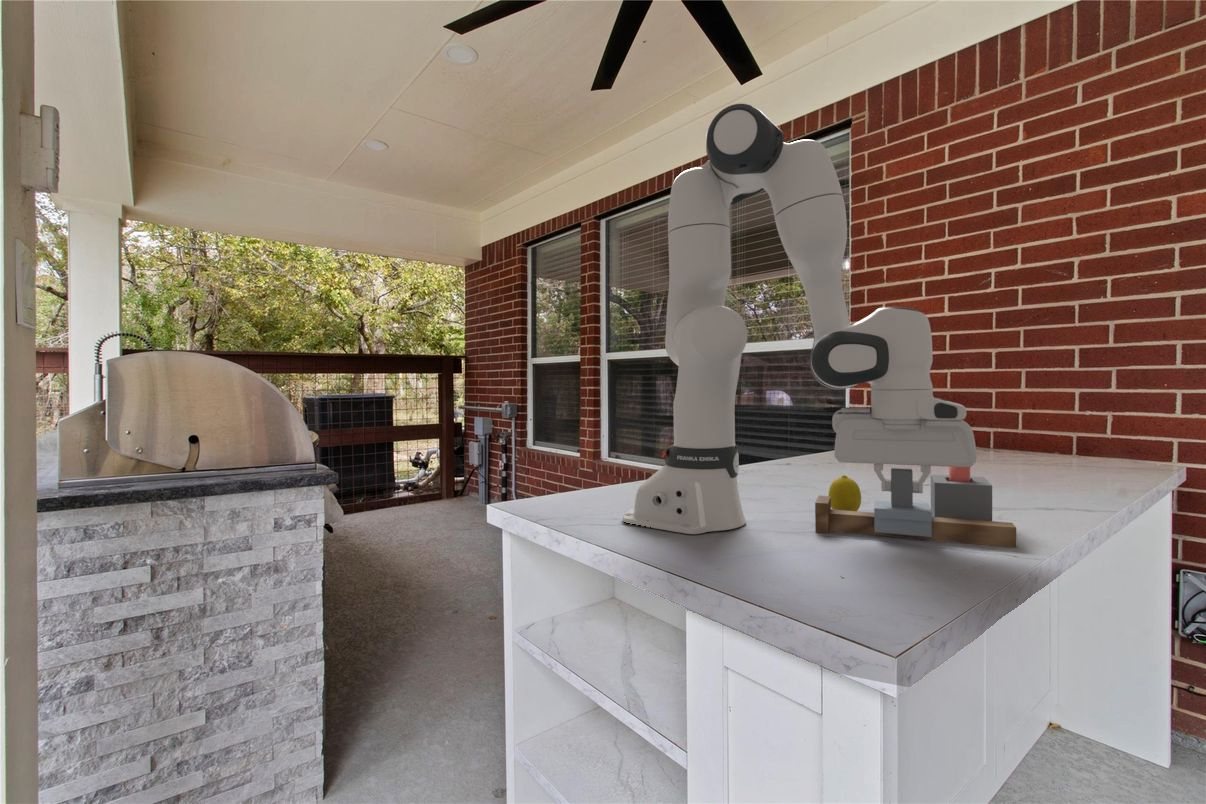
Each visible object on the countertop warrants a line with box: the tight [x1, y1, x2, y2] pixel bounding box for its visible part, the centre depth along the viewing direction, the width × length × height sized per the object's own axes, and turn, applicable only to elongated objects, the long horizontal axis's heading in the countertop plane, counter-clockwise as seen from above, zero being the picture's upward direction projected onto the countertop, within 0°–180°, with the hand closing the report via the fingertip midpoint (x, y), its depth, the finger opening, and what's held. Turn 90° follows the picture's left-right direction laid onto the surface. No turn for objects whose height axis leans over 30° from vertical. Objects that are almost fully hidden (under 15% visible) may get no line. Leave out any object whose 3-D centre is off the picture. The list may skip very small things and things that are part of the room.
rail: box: [814, 495, 1017, 548], centre depth 90 cm, size 28×6×5 cm, turn 63°
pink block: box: [948, 467, 971, 482], centre depth 95 cm, size 3×3×6 cm
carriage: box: [873, 467, 932, 537], centre depth 91 cm, size 8×6×10 cm
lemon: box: [828, 475, 862, 511], centre depth 102 cm, size 6×6×8 cm
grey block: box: [930, 474, 993, 521], centre depth 95 cm, size 8×8×8 cm
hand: (901, 491), depth 91 cm, fingers closed on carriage, 3 cm apart
